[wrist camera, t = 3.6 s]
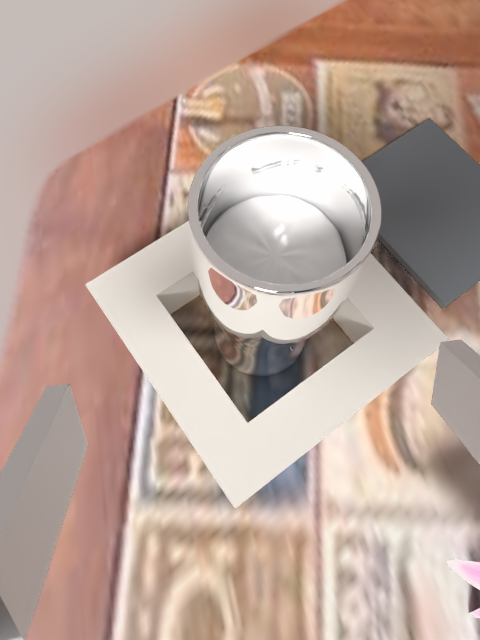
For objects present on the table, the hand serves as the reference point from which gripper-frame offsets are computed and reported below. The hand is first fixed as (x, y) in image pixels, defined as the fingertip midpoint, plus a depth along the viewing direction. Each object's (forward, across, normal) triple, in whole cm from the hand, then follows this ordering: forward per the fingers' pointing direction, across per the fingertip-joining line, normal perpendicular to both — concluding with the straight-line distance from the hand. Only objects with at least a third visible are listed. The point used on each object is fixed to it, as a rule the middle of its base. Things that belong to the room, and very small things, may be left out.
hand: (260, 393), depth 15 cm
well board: (+13, +2, -4) cm, 13 cm away
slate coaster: (+18, +15, +1) cm, 24 cm away
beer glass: (+13, +2, -4) cm, 14 cm away
